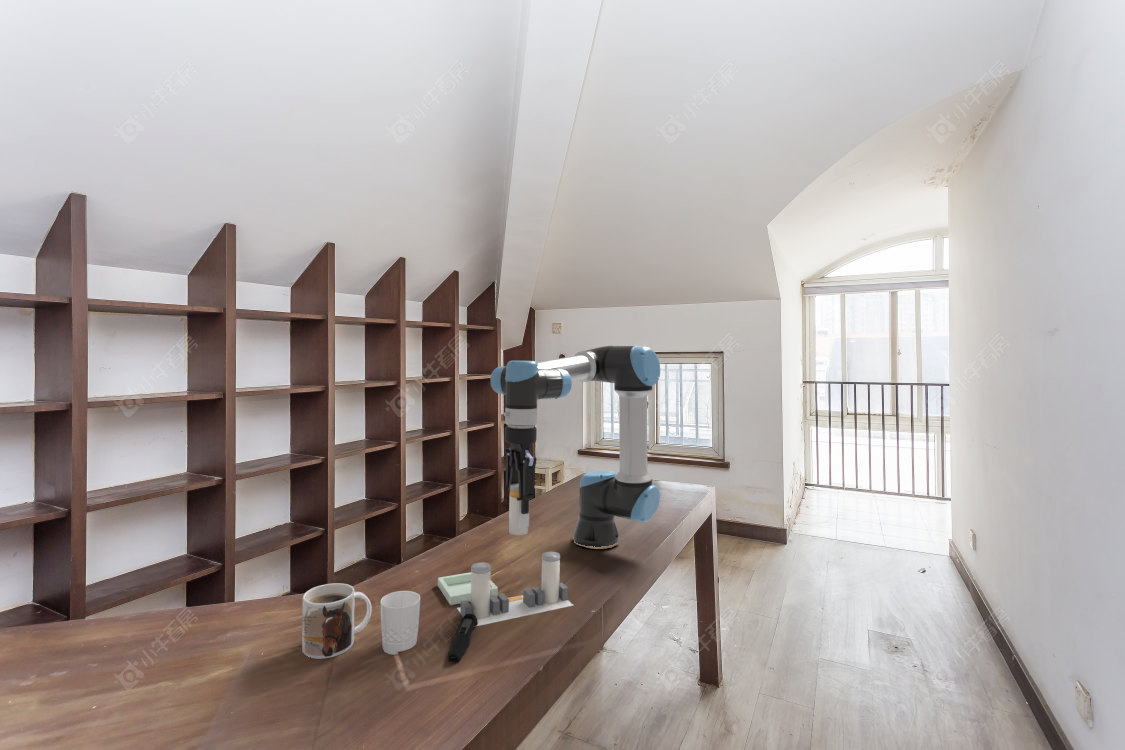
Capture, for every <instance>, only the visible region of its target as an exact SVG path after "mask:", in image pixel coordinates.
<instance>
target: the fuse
mask: <svg viewBox="0 0 1125 750" xmlns="http://www.w3.org/2000/svg"><path fill="white" fill-rule="evenodd" d="M470 570H471V571H470V572H471V602H470V605H471V606H472V614H473V615H475V616H476V618H477V619H481V618H486V617H488V616H489V614H490V580H491V571H492V565H491V564H490V563H488V562H475V563H473V564H472V565H471V567H470Z"/></svg>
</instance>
